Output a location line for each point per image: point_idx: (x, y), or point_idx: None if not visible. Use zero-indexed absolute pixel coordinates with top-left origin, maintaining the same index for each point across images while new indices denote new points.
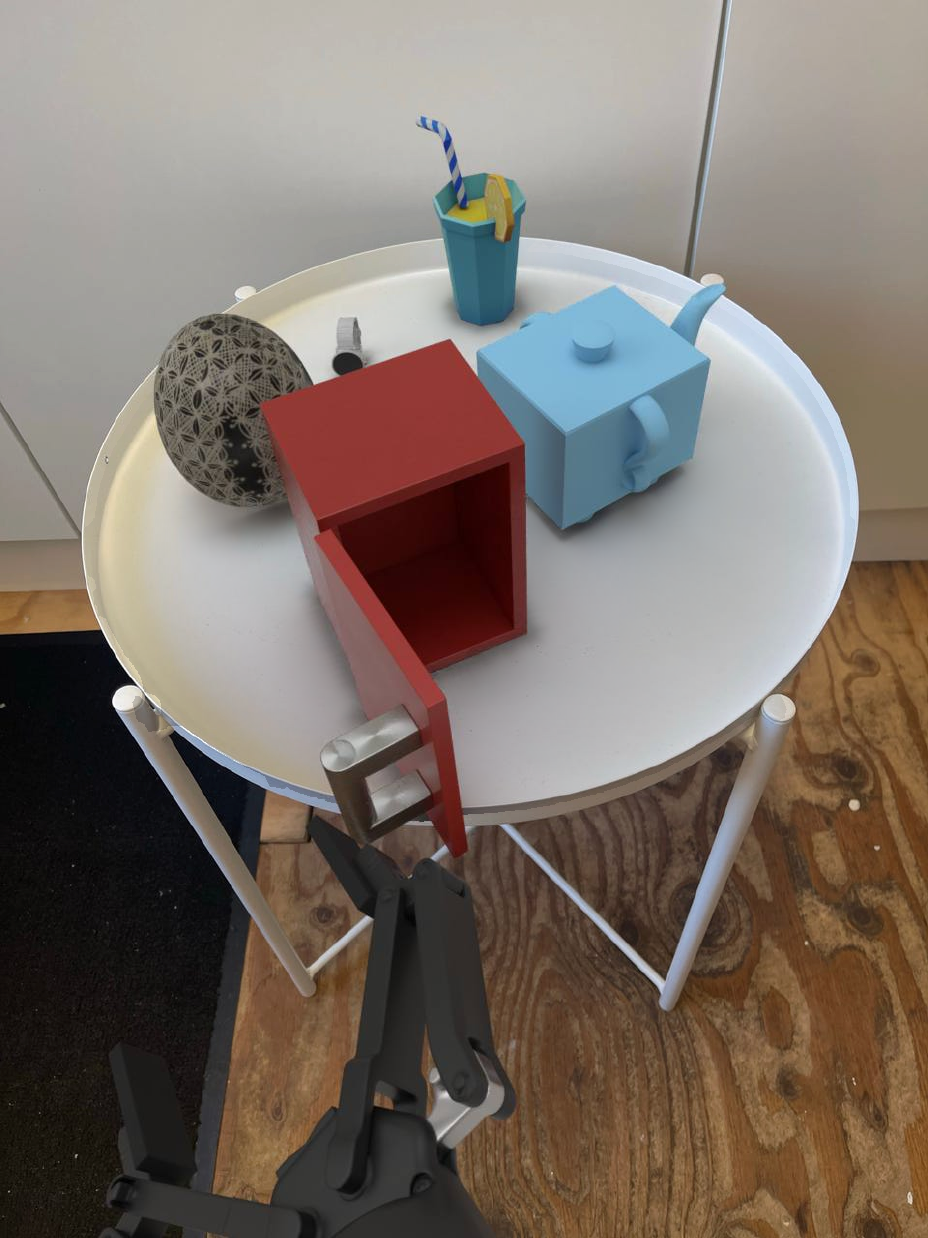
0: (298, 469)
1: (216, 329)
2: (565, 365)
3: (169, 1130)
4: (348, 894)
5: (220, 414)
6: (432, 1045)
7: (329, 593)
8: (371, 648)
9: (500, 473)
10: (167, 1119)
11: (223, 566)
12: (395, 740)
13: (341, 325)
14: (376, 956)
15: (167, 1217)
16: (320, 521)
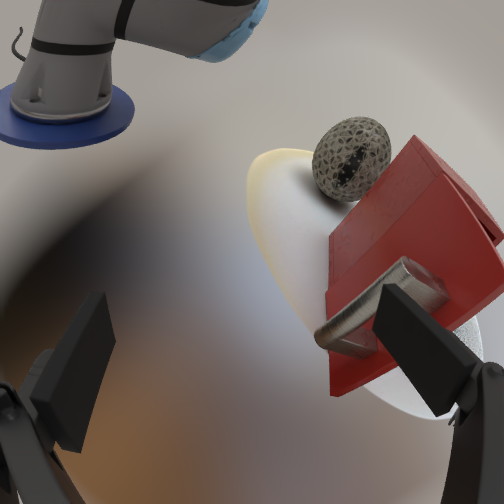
0: (432, 155)
1: (381, 125)
2: None
3: (82, 396)
4: (449, 349)
5: (362, 143)
6: None
7: (407, 210)
8: (439, 240)
9: None
10: (87, 385)
11: (298, 196)
12: (440, 292)
13: None
14: (495, 418)
15: (23, 490)
16: (443, 172)
